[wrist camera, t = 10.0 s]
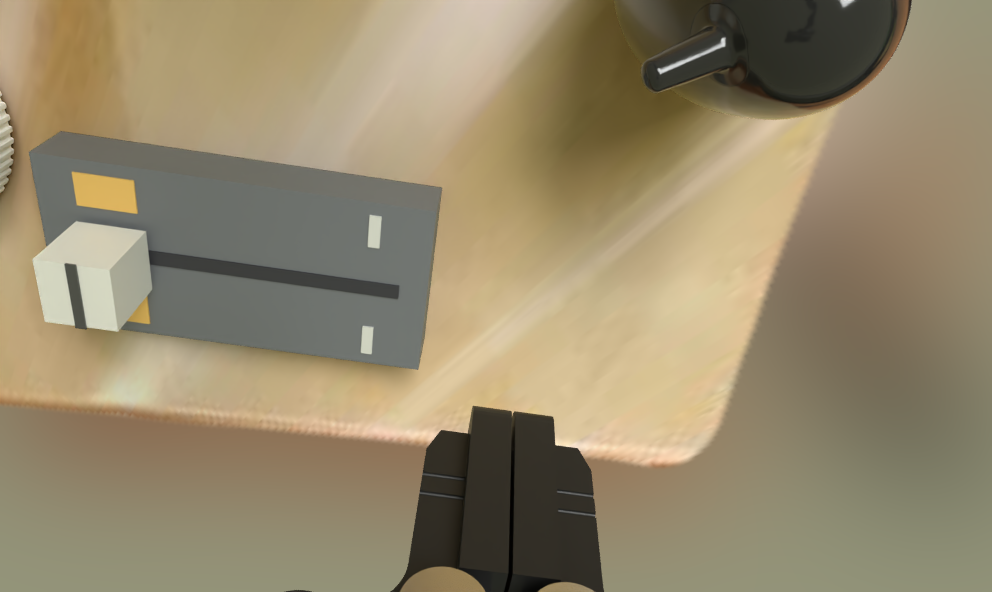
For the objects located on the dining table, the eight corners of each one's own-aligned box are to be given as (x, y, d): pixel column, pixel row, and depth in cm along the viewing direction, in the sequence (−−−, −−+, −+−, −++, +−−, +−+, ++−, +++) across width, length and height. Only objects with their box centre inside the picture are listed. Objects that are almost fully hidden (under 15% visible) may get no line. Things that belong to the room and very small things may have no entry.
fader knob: (75, 220, 38) (30, 259, 35) (145, 230, 38) (108, 270, 35) (85, 280, 40) (43, 323, 37) (152, 290, 40) (117, 333, 37)
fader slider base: (61, 131, 39) (27, 152, 37) (442, 187, 40) (436, 212, 38) (87, 292, 45) (59, 322, 42) (424, 339, 46) (418, 370, 43)
